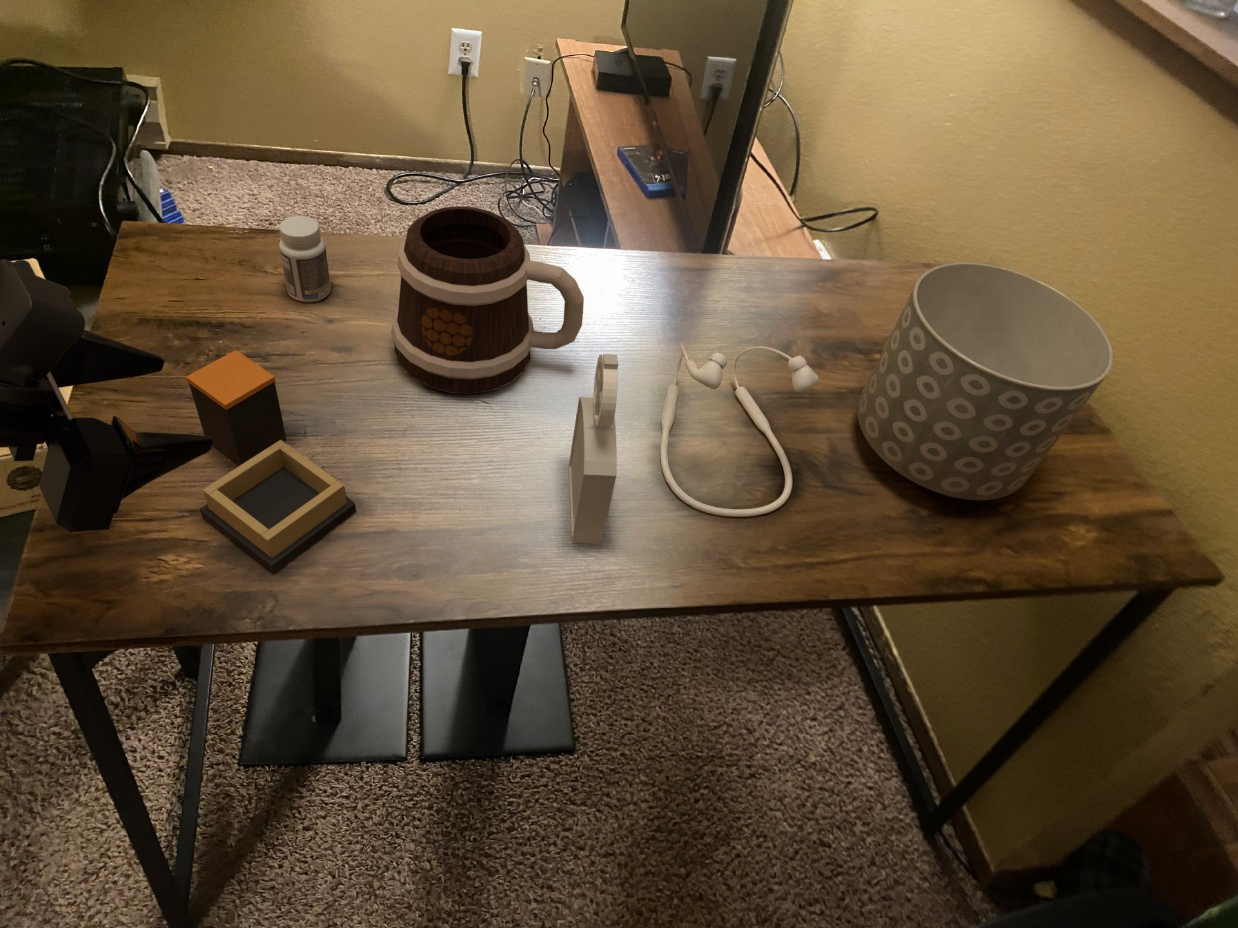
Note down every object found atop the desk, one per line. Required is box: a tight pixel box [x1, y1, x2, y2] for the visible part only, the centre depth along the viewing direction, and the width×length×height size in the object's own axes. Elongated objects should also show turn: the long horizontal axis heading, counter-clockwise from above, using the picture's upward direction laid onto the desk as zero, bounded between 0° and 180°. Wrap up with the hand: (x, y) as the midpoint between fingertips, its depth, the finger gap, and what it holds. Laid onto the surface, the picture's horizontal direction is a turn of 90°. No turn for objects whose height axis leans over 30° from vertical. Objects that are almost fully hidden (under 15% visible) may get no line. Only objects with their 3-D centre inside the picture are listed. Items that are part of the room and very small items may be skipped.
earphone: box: [659, 342, 819, 518], centre depth 85 cm, size 14×17×18 cm
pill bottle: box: [278, 215, 332, 303], centre depth 92 cm, size 5×5×8 cm
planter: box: [856, 261, 1114, 501], centre depth 85 cm, size 19×19×18 cm
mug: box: [390, 205, 585, 395], centre depth 86 cm, size 20×15×15 cm
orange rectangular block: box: [185, 349, 287, 467], centre depth 76 cm, size 5×5×8 cm
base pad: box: [199, 440, 357, 575], centre depth 72 cm, size 9×9×4 cm
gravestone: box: [568, 353, 619, 545], centre depth 73 cm, size 3×9×18 cm, turn 5°
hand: (186, 402), depth 60 cm, fingers open, 9 cm apart
